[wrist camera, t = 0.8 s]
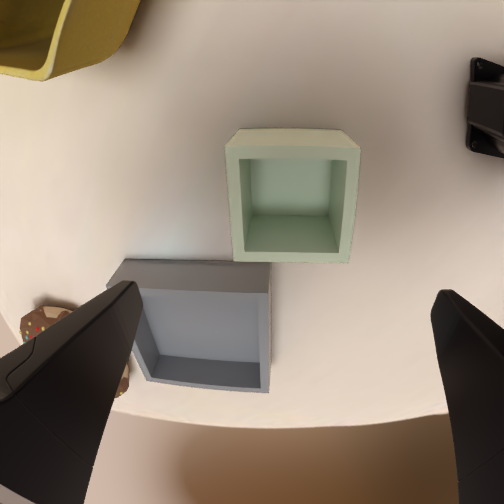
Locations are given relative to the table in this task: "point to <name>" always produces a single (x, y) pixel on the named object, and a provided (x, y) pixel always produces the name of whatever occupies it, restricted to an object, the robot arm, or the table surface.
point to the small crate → (292, 194)
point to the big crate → (203, 322)
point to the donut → (46, 318)
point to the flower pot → (60, 35)
